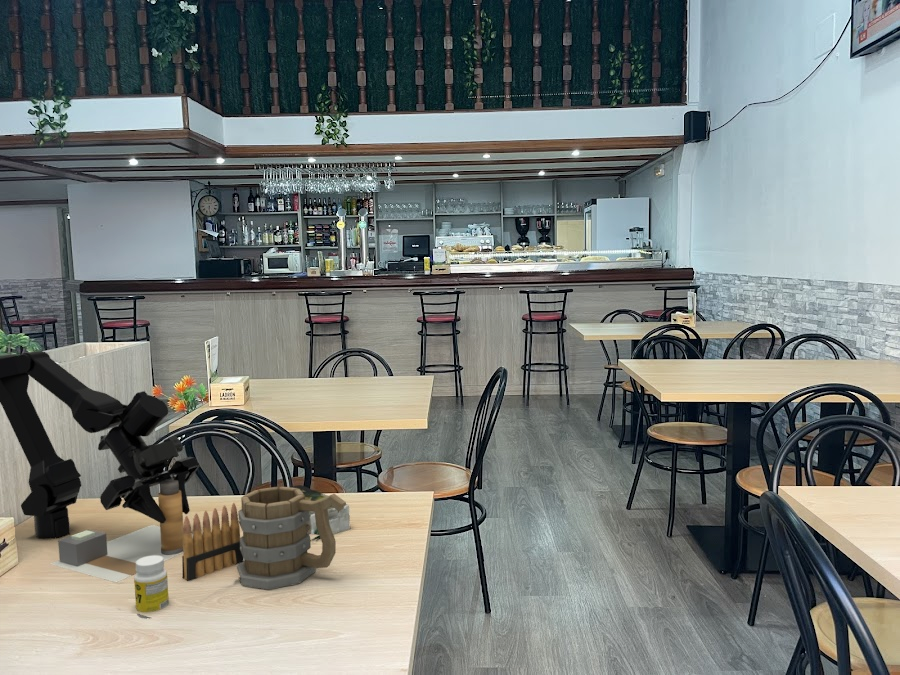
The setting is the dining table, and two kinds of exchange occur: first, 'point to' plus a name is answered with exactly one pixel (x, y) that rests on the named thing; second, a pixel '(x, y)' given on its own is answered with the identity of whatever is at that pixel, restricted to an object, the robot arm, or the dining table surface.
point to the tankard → (282, 536)
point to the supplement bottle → (150, 584)
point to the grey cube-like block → (82, 547)
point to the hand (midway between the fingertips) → (176, 517)
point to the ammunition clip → (211, 544)
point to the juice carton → (336, 518)
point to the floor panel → (123, 555)
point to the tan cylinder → (171, 517)
